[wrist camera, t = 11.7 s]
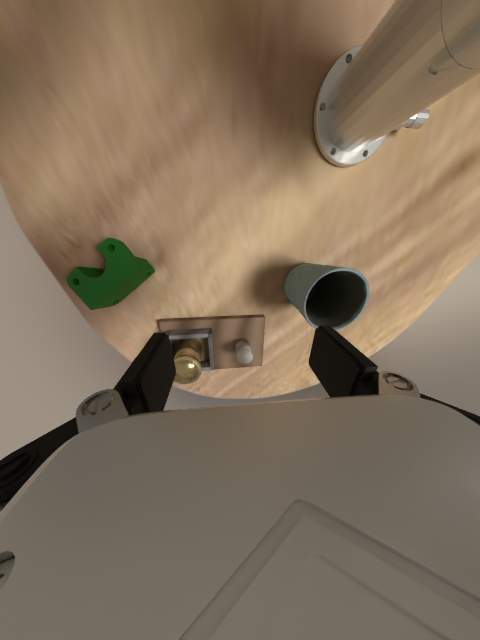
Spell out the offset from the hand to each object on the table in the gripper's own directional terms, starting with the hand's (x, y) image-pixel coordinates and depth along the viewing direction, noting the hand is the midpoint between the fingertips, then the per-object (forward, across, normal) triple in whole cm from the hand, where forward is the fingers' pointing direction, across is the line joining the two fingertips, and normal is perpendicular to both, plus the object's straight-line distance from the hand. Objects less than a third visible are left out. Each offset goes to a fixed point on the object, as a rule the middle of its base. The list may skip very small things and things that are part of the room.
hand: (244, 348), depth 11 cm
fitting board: (+25, +4, +16) cm, 30 cm away
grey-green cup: (+26, -15, +3) cm, 30 cm away
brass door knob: (+23, +9, +16) cm, 30 cm away
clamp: (+25, +20, 0) cm, 32 cm away
